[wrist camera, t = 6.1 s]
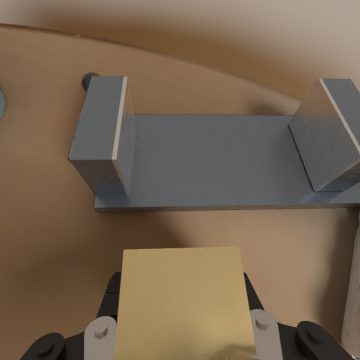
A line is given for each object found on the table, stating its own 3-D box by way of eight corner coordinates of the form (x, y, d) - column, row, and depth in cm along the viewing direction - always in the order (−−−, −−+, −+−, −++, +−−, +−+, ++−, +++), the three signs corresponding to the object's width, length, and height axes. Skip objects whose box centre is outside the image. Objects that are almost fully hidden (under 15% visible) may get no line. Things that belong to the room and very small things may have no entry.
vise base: (312, 109, 27) (353, 56, 21) (359, 207, 20) (437, 172, 14) (96, 107, 25) (74, 50, 19) (73, 213, 19) (29, 176, 13)
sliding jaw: (313, 122, 24) (350, 79, 19) (345, 190, 20) (402, 157, 15) (288, 122, 24) (318, 78, 19) (314, 191, 19) (362, 157, 15)
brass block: (206, 268, 17) (238, 246, 9) (213, 345, 15) (265, 404, 7) (145, 270, 17) (123, 249, 9) (142, 349, 14) (108, 415, 6)
